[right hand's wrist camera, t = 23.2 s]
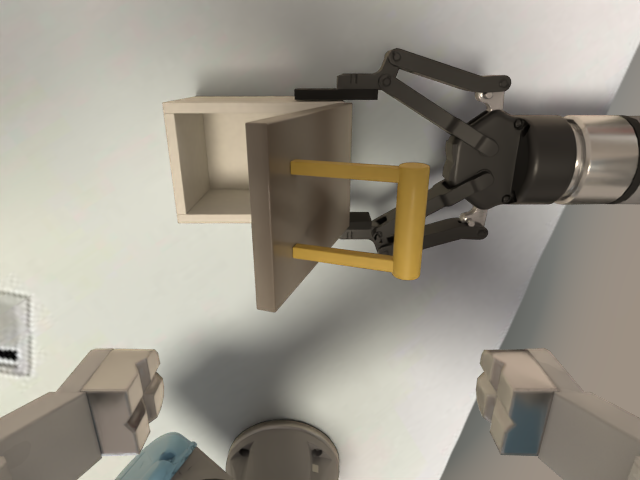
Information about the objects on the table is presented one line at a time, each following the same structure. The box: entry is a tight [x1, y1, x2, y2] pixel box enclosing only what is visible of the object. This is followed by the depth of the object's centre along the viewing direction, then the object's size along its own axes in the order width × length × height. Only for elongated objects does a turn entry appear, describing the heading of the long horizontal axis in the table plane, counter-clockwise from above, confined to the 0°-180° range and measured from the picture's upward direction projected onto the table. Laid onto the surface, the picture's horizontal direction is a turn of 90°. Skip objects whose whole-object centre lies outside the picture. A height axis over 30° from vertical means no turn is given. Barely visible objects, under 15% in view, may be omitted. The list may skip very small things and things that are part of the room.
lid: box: [245, 103, 430, 312], centre depth 26 cm, size 15×10×8 cm
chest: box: [162, 96, 345, 223], centre depth 39 cm, size 14×10×9 cm
